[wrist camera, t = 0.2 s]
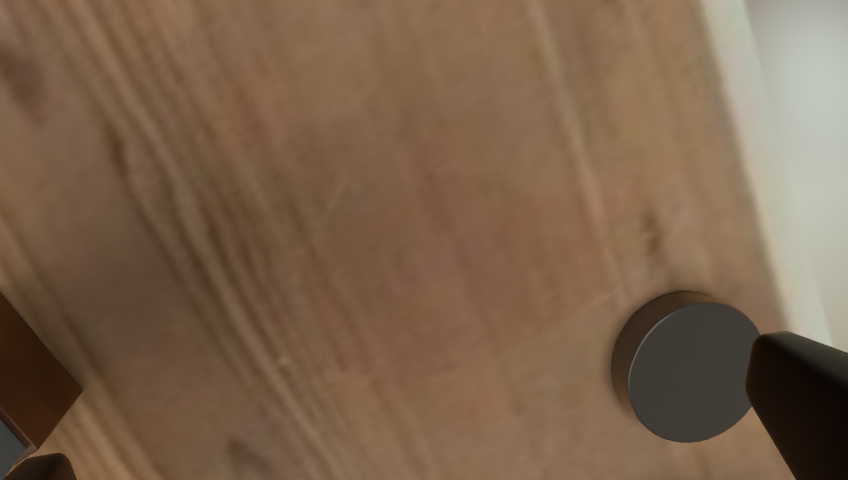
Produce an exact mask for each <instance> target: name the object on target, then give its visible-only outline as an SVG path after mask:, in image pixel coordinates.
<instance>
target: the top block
mask: <svg viewBox="0 0 848 480" xmlns="http://www.w3.org/2000/svg"><path fill="white" fill-rule="evenodd" d="M25 450H26V448H25V446H24V445H23V444H22V443H21V442H20V441H19V440H18V439H17V437H16V436H15V435H14V434H13V433H12V432H11V431H10V430H9V428H8V427H7V426H6V425H5V424H4V423H3V422H2V421H1V419H0V480H2V479H3V478H4V477H5V476H6V474H7V473H8V472H9V471H10V469H11V468H12V467H13V466H14V464H15V463H16V462H17V461H18V459H19V458H20V457H21V456H22V454H23V453H24V452H25Z"/></svg>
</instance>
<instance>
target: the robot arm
mask: <svg viewBox="0 0 848 480" xmlns="http://www.w3.org/2000/svg"><path fill="white" fill-rule="evenodd" d="M745 390H746V394H747V397H748V400H749V402H750V403H751V405H752V407H753V408H754V410H755V412H756V413H757V415H758V417H759V418H760V420H761V422H762V423H763V425H764V427H765V428H766V430H767V432H768V433H769V435H770V437H771V438H772V440H773V442H774V443H775V445H776V447H777V448H778V450H779V452H780V454H781V455H782V457H783V459H784V460H785V462H786V464H787V465H788V467H789V469H790V470H791V472H792V474H793V475H794V477H795V479H796V480H848V353H846V352H843V351H841V350H838V349H835V348H833V347H830V346H827V345H824V344H822V343H819V342H816V341H813V340H811V339H808V338H805V337H802V336H799V335H797V334H794V333H791V332H787V331H780V332H774V333H769V334H763V335H760V336H758V337H757V338H756V339H755V340H754V342H753V345H752V349H751V354H750V359H749V364H748V369H747V374H746V379H745ZM3 480H77V479H76V476H75V474H74V471H73V469H72V466H71V463H70V461H69V459H68V458H67V457H66V456H65V455H64V454H61V453H55V454H49V455H43V456H37V457H32V458H28V459H26V460H24V461H23V462H22V463H20V464H19V465H18V466H17V467H16V468H15V469H14V470H12V471H11V472H10V473H9V474H8V475H7V476H6V477H5V478H4V479H3Z"/></svg>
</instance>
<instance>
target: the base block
mask: <svg viewBox="0 0 848 480" xmlns="http://www.w3.org/2000/svg"><path fill="white" fill-rule="evenodd" d="M81 393H82V390H81V389H80V388H79V387H78V385H77V384H76V383H75V382H74V381H73V379H72V378H71V377H70V376H69V375H68V373H67V372H66V371H65V370H64V369H63V367H62V366H61V365H60V364H59V363H58V361H57V360H56V359H55V358H54V357H53V355H52V354H51V353H50V352H49V351H48V350H47V348H46V347H45V346H44V345H43V344H42V342H41V341H40V340H39V339H38V338H37V336H36V335H35V334H34V333H33V332H32V330H31V329H30V328H29V327H28V326H27V324H26V323H25V322H24V321H23V320H22V318H21V317H20V316H19V315H18V314H17V312H16V311H15V310H14V309H13V308H12V307H11V305H10V304H9V303H8V302H7V301H6V299H5V298H4V297H3V296H2V295H1V293H0V419H1V421H2V422H3V423H4V424H5V425H6V426H7V427H8V428H9V430H10V431H11V432H12V433H13V434H14V435H15V436H16V437H17V439H18V440H19V441H20V442H21V443H22V444H23V445H24V446H25V448H26V450H25V452H24V453H23V454H22V456H21V457H20V458H19V459H18V461H17V462H16V463H15V464H17V463H18V462H20V461H21V460H23V459H24V458H26V457H28V456H29V455H31V454H32V453H34V452H36V451H37V450H38V449H39V448H40V447H41V445H42V444H43V443H44V441H45V440H46V439H47V438H48V436H49V435H50V434H51V432H52V431H53V430H54V428H55V427H56V426H57V424H58V423H59V422H60V420H61V419H62V418H63V416H64V415H65V414H66V413H67V411H68V410H69V409H70V407H71V406H72V405H73V403H74V402H75V401H76V399H77V398H78V397H79V395H80V394H81ZM15 464H14V465H15Z"/></svg>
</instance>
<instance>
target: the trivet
mask: <svg viewBox="0 0 848 480" xmlns="http://www.w3.org/2000/svg"><path fill="white" fill-rule="evenodd" d="M758 336H760V333H759V331H758V329H757V328H756V326H755V325H754V323H753V322H752V321H751V320H750V319H749V318H748V317H747V316H746V315H745V314H743V313H742V312H741V311H739V310H737V309H736V308H734V307H732V306H730V305H728V304H726V303H724V302H722V301H720V300H718V299H716V298H714V297H712V296H709V295H706V294H703V293H698V292H677V293H672V294H668V295H665V296H662V297H660V298H658V299H655V300H653V301H652V302H650V303H648V304H647V305H645V306H644V307H643V308H641V309H640V310H639V311H638V312H637V313H636V314H635V315H634V316H633V317H632V318H631V319H630V320H629V322H628V323H627V324H626V326H625V327H624V329H623V330H622V332H621V334H620V336H619V338H618V340H617V342H616V345H615V349H614V352H613V358H612V379H613V383H614V388H615V390H616V393H617V395H618V397H619V399H620V400H621V402H622V403H623V405H624V406H625V407H626V408H627V409H628V410H629V411H630V412H631V413H632V414H633V415H634V416H635V417H636V418H637V419H638V420H639V421H640V422H641V423H642V424H643V425H644V426H645V427H646V428H647V429H648V430H649V431H651V432H652V433H654V434H655V435H657V436H659V437H662V438H664V439H667V440H670V441H675V442H688V443H690V442H699V441H703V440H707V439H710V438H712V437H715V436H717V435H719V434H721V433H723V432H725V431H726V430H728V429H729V428H731V427H732V426H734V425H735V424H736V423H737V422H738V421H740V420H741V418H742V417H743V416H744V415H745V414H746V413H747V412H748V411H749V409H750V408H751V407H752V405H751V403H750V402H749V400H748V397H747V394H746V390H745V379H746V374H747V369H748V364H749V359H750V354H751V349H752V345H753V342H754V340H755V339H756V338H757V337H758Z"/></svg>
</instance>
